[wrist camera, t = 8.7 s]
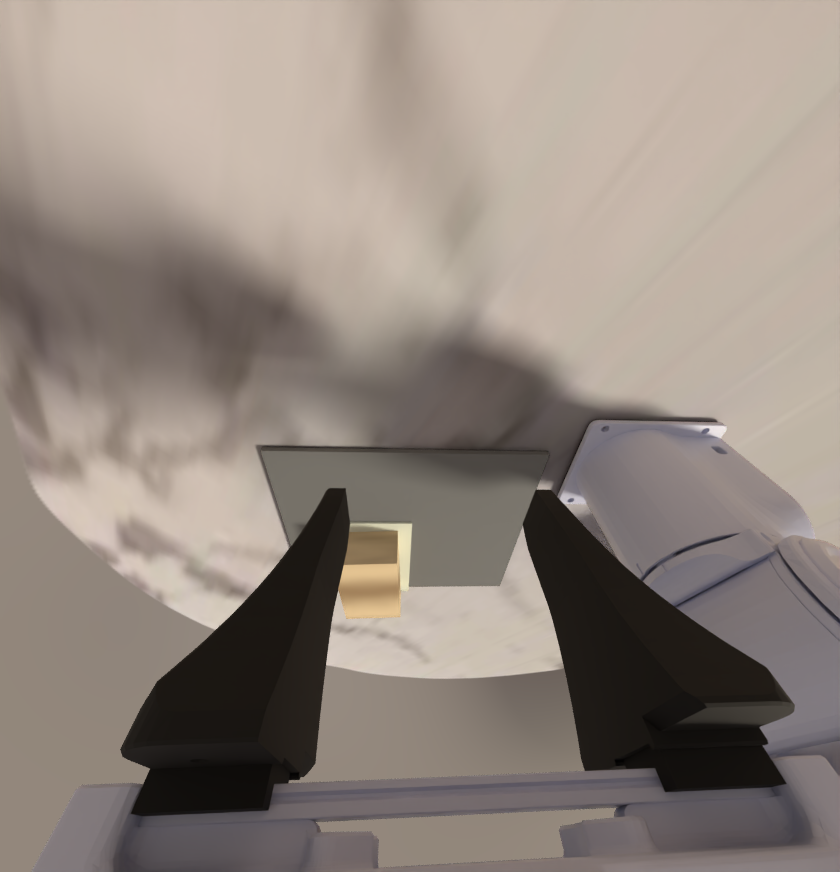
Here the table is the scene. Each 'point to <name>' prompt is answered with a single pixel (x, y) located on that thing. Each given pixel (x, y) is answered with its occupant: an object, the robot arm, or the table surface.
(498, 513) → the rubber mat
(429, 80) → the table surface
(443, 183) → the table surface
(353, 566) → the oak block
